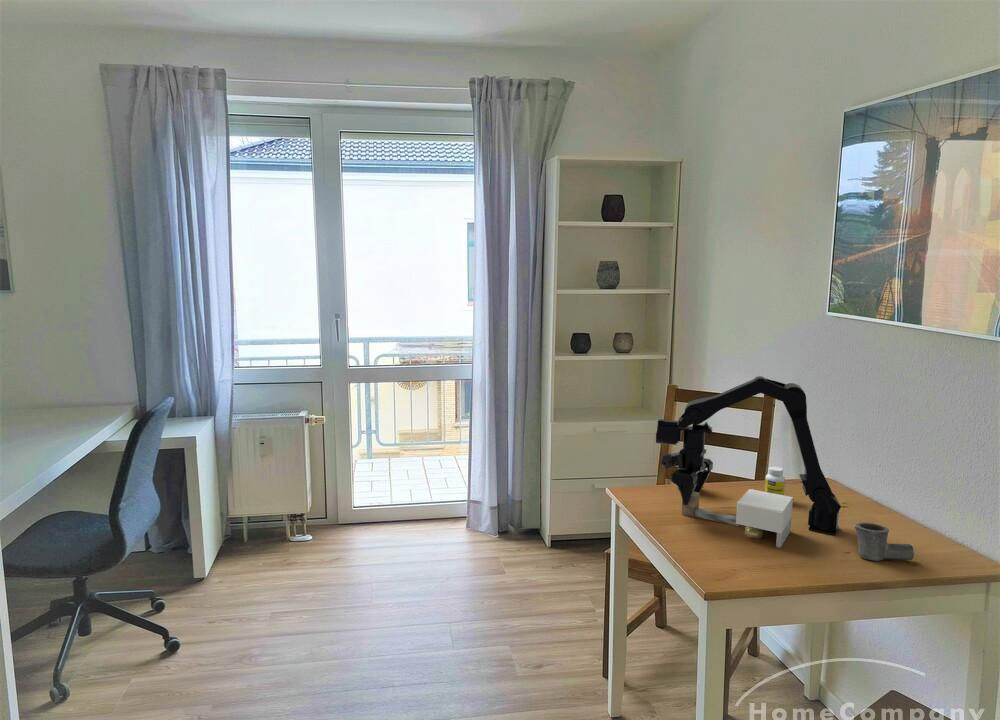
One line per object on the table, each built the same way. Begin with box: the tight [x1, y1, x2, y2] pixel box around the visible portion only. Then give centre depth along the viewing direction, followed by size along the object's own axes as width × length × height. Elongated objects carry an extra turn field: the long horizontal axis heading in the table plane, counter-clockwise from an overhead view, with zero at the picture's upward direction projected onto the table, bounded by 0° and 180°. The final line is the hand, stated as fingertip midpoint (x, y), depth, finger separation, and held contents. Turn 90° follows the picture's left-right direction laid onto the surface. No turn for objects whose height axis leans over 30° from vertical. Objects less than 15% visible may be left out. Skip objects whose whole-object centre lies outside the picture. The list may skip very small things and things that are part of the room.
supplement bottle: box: [764, 466, 786, 496], centre depth 198 cm, size 5×5×10 cm
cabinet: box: [735, 488, 794, 549], centre depth 172 cm, size 11×13×10 cm
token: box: [744, 526, 764, 539], centre depth 172 cm, size 4×4×2 cm
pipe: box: [854, 522, 915, 562], centre depth 158 cm, size 6×13×8 cm, turn 78°
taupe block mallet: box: [681, 492, 741, 527], centre depth 183 cm, size 16×4×6 cm, turn 56°
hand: (691, 499), depth 186 cm, fingers open, 9 cm apart
